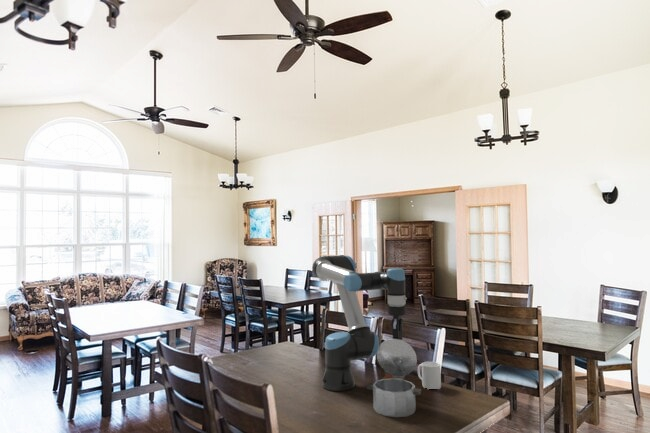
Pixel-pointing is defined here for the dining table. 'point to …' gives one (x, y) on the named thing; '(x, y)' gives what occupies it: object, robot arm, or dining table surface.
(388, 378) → the burger
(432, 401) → the dining table surface
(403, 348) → the lid
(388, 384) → the pot
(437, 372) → the cup
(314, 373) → the dining table surface
